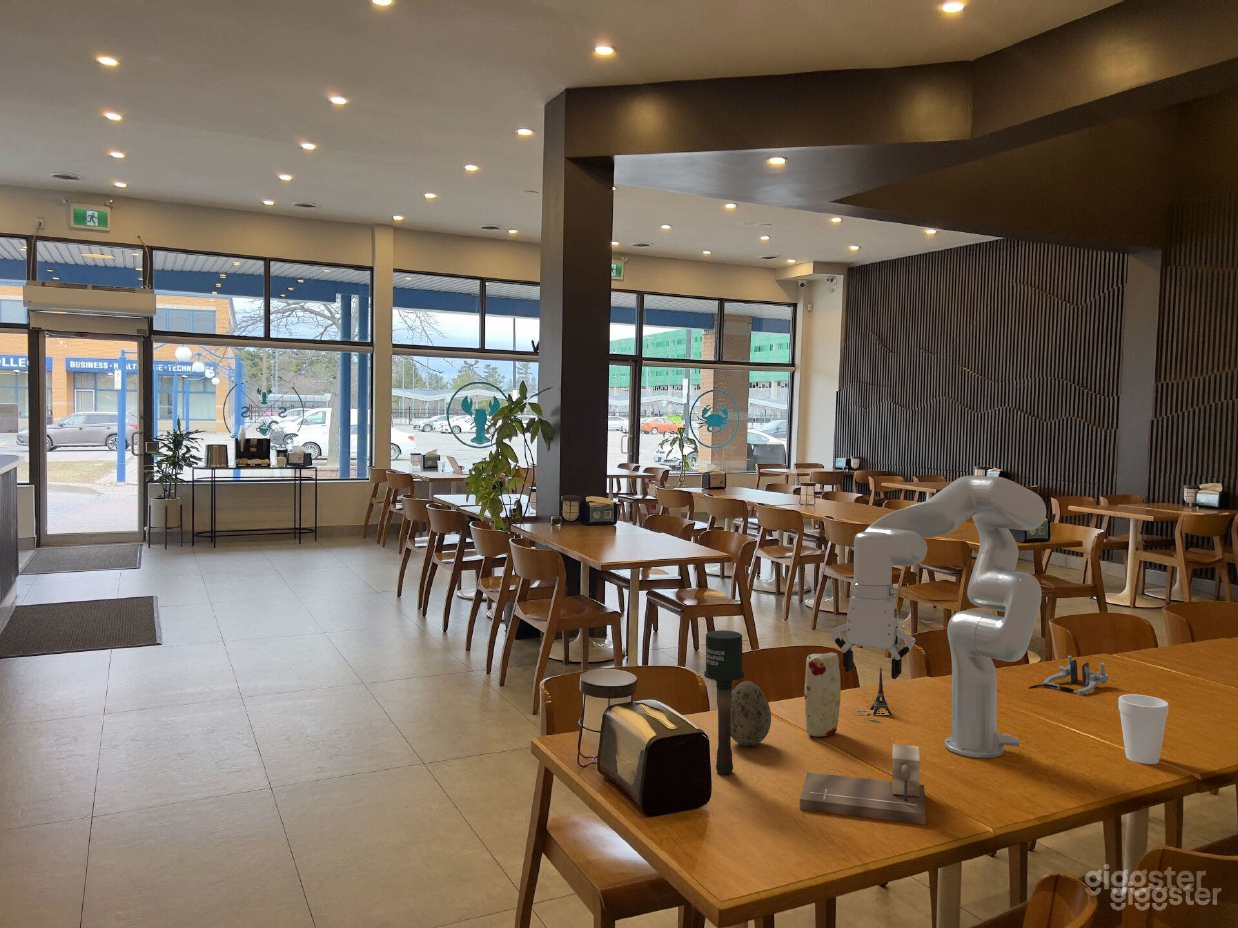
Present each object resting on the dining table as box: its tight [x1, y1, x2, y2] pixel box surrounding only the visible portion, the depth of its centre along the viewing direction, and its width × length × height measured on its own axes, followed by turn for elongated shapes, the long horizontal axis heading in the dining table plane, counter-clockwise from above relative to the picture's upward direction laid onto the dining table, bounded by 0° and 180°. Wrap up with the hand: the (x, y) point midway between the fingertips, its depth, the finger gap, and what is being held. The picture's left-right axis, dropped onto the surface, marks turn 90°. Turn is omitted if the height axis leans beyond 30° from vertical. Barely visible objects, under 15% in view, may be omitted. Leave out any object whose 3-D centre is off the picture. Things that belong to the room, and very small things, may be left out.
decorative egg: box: [731, 680, 772, 747], centre depth 205 cm, size 11×11×15 cm
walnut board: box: [799, 771, 927, 825], centre depth 173 cm, size 23×14×2 cm, turn 72°
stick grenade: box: [703, 629, 745, 776], centre depth 188 cm, size 8×9×30 cm
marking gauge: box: [891, 743, 920, 802], centre depth 172 cm, size 5×13×9 cm, turn 162°
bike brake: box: [1028, 655, 1109, 696], centre depth 247 cm, size 14×7×20 cm
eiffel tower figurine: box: [856, 666, 894, 724], centre depth 228 cm, size 15×10×13 cm
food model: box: [803, 652, 842, 737], centre depth 211 cm, size 10×7×20 cm
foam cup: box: [1118, 693, 1169, 765], centre depth 194 cm, size 10×9×13 cm
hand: (871, 673), depth 182 cm, fingers open, 9 cm apart
